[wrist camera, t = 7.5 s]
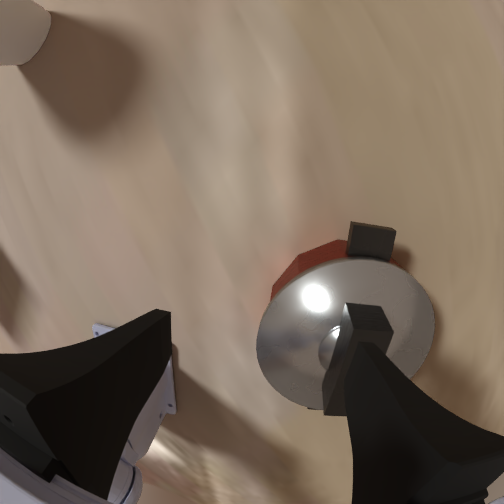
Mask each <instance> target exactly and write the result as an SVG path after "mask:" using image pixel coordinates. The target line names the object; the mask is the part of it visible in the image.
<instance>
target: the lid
mask: <svg viewBox="0 0 504 504" xmlns="http://www.w3.org/2000/svg"><path fill="white" fill-rule="evenodd" d="M434 330H435V317H434V311H433V307H432V304H431V301H430V299H429V297H428V295H427V293H426V292H425V290H424V289H423V287H422V286H421V285H420V284H419V283H418V282H417V280H416V279H415V278H414V277H413V276H412V275H411V274H409V273H408V272H407V271H406V270H404V269H403V268H401V267H399V266H397V265H395V264H393V263H391V262H388V261H385V260H382V259H377V258H373V257H361V256H356V257H344V258H338V259H333V260H329V261H326V262H323V263H320V264H318V265H315V266H313V267H311V268H309V269H307V270H305V271H303V272H302V273H300V274H298V275H297V276H295V277H294V278H293V279H291V280H290V281H289V282H288V283H286V284H285V285H284V286H283V287H282V288H281V289H280V290H279V291H278V292H277V293H276V295H275V296H274V297H273V299H272V300H271V301H270V303H269V304H268V306H267V308H266V310H265V312H264V314H263V316H262V319H261V322H260V326H259V331H258V335H257V345H256V351H257V359H258V362H259V365H260V368H261V370H262V372H263V374H264V376H265V378H266V379H267V381H268V382H269V383H270V384H271V386H272V387H273V388H274V389H275V390H276V391H278V392H279V393H280V394H281V395H282V396H284V397H286V398H287V399H289V400H291V401H293V402H295V403H297V404H299V405H302V406H305V407H308V408H313V409H318V410H323V412H324V415H327V416H347V414H346V408H345V400H344V379H345V377H346V374H347V372H348V369H349V366H350V364H351V361H352V358H353V356H354V353H355V350H356V347H357V345H358V342H359V341H361V342H372V343H374V344H375V345H377V346H378V347H379V348H380V349H381V350H382V352H383V353H384V354H385V355H386V356H387V357H388V358H389V359H390V360H391V361H392V362H393V363H394V364H395V365H396V366H397V367H398V368H399V369H400V370H401V371H402V372H403V373H404V374H405V375H406V376H407V377H408V378H409V379H411V378H412V377H413V376H414V374H415V373H416V372H417V371H418V370H419V368H420V367H421V365H422V364H423V362H424V361H425V359H426V357H427V355H428V353H429V350H430V348H431V345H432V341H433V337H434Z"/></svg>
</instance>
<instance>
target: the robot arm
mask: <svg viewBox="0 0 504 504" xmlns="http://www.w3.org/2000/svg"><path fill="white" fill-rule="evenodd" d="M92 329H93V333H94V338H92V339H90V340H87V341H84V342H81V343H77V344H74V345H71V346H66V347H62V348H57V349H53V350H48V351H41V352H33V353H21V354H0V504H137V502H138V500H139V498H140V495H141V491H142V486H143V482H142V473H141V471H140V469H139V468H138V467H137V466H135V464H136V462H137V461H138V460H139V459H141V458H142V457H143V456H144V455H145V454H146V453H147V451H148V450H149V447H150V445H151V443H152V441H153V439H154V437H155V435H156V433H157V431H158V429H159V427H160V425H161V422H162V420H163V418H164V416H165V414H166V413H169V414H176V412H177V408H176V399H175V390H174V379H173V368H172V356H171V355H172V342H171V312H168V311H164V310H159V309H155V310H152V311H150V312H148V313H146V314H144V315H142V316H140V317H138V318H136V319H134V320H132V321H130V322H128V323H126V324H124V325H122V326H120V327H118V328H112V327H108V326H105V325H102V324H98V323H95V324H94V325H93V326H92ZM344 400H345V408H346V414H347V420H348V426H349V432H350V438H351V445H352V453H353V493H352V504H485V502H484V499H485V498H486V497H487V496H488V491H487V487H488V486H489V485H490V484H491V483H493V482H494V481H495V480H496V479H497V478H498V477H499V476H500V475H501V474H502V473H503V472H504V436H501V435H498V434H496V433H493V432H490V431H487V430H484V429H482V428H480V427H478V426H475V425H473V424H471V423H469V422H467V421H465V420H463V419H462V418H460V417H458V416H456V415H455V414H453V413H452V412H450V411H448V410H447V409H445V408H444V407H442V406H441V405H439V404H438V403H437V402H435V401H434V400H433V399H432V398H430V397H429V396H428V395H426V394H425V393H424V392H423V391H422V390H421V389H419V388H418V387H417V386H416V385H415V384H414V383H413V382H412V381H411V380H410V379H409V378H408V377H407V376H406V375H405V374H404V373H403V372H402V371H401V370H400V369H399V368H398V367H397V366H396V365H395V364H394V363H393V362H392V361H391V360H390V359H389V358H388V357H387V356H386V355H385V354H384V353H383V352H382V350H381V349H380V348H379V347H378V346H377V345H375V344H374V343H372V342H361V341H359V342H358V345H357V347H356V350H355V353H354V356H353V358H352V361H351V364H350V366H349V369H348V372H347V374H346V377H345V379H344ZM489 504H504V496H503V497H500V498H498V499H496V500H494V501H492V502H490V503H489Z"/></svg>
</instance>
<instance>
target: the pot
mask: <svg viewBox="0 0 504 504" xmlns="http://www.w3.org/2000/svg"><path fill="white" fill-rule="evenodd" d="M395 236H396V231H395V230H394V229H393V228H390V227H383V226H377V225H371V224H365V223H358V222H352V221H351V224H350V229H349V235H348V241H345V240H335V241H333V242H330V243H328V244H325V245H322V246H320V247H317V248H315V249H312V250H310V251H307V252H305V253H302V254H300V255H298V256H297V257H296V258H295V260H294V261H293V262H292V263H291V264H290V266H289V267H288V268H287V269H286V271H285V272H284V273H283V274H282V275H281V277H280V278H279V279H278V280H277V281H276V283H275V284H274V285H273V287H272V293H271V299H270V301H271V300H272V299H273V297H274V296H275V295H276V293H277V292H278V291H279V290H280V289H281V288H282V287H283V286H284V285H285V284H286V283H288V282H289V281H290V280H291V279H293V278H294V277H295V276H297V275H298V274H300V273H302V272H303V271H305V270H307V269H309V268H311V267H313V266H315V265H318V264H320V263H323V262H326V261H329V260H333V259H338V258H344V257H356V256H361V257H373V258H377V259H382V260H385V261H388V262H391V263H393V264H395V265H397V266H399V267H401V266H400V265H399V264H398V263H397V262H396V261H395V260H393V259H392V258H391V254H392V250H393V245H394V240H395ZM401 268H402V267H401ZM404 270H405V269H404ZM307 409H313V408H308V407H307ZM314 410H318V409H314Z"/></svg>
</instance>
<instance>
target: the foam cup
mask: <svg viewBox="0 0 504 504" xmlns="http://www.w3.org/2000/svg"><path fill="white" fill-rule="evenodd" d="M50 26H51V15H50V13H49V12H48V11H47V10H45V9H44V8H43V7H42V6H40V5H38V4H37V3H35V2H34V1H32V0H0V66H3V65H18V64H19V65H23V64H24V63H26V62H28V61H30V60H31V59H32V58H33V56H34V55H35V54H36V53H37V52H38V51H39V49H40V48H41V46H42V44H43V43H44V41H45V39H46V38H47V35H48V32H49V29H50Z"/></svg>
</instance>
